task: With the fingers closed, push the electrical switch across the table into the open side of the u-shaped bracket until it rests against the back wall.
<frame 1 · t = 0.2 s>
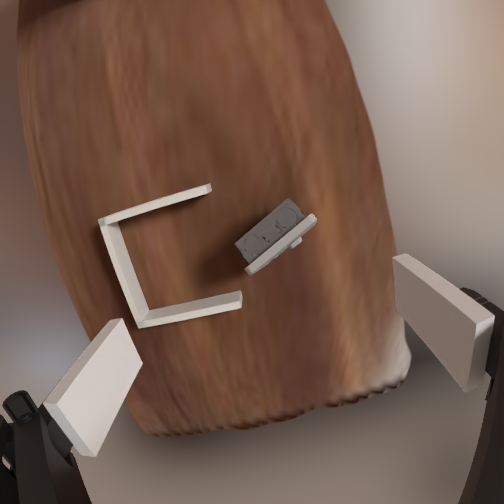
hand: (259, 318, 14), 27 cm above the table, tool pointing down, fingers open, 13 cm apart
electrical switch: (274, 229, 41), on the table
u-shaped bracket: (173, 255, 42), on the table
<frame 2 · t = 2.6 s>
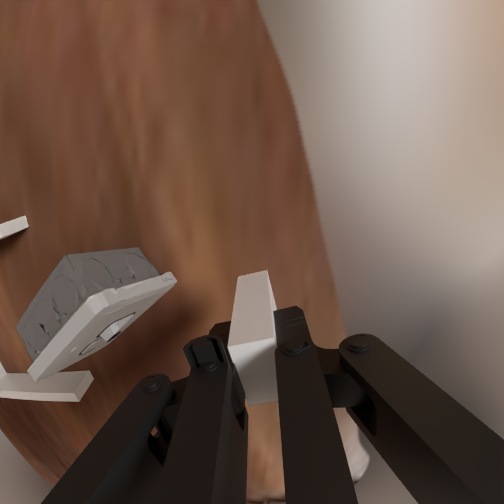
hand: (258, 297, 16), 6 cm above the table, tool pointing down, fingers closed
electrical switch: (116, 289, 23), on the table
u-shaped bracket: (8, 314, 23), on the table
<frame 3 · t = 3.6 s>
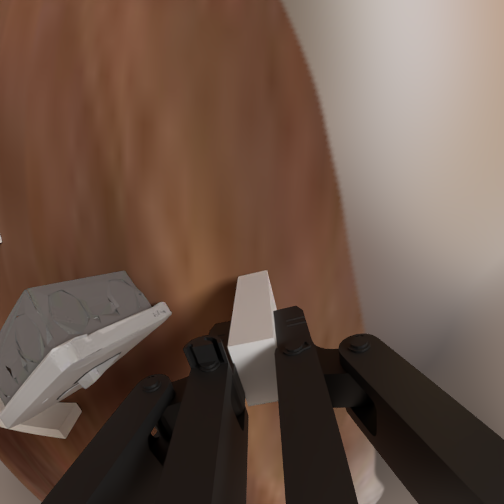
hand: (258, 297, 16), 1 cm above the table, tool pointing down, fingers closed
electrical switch: (101, 318, 19), on the table
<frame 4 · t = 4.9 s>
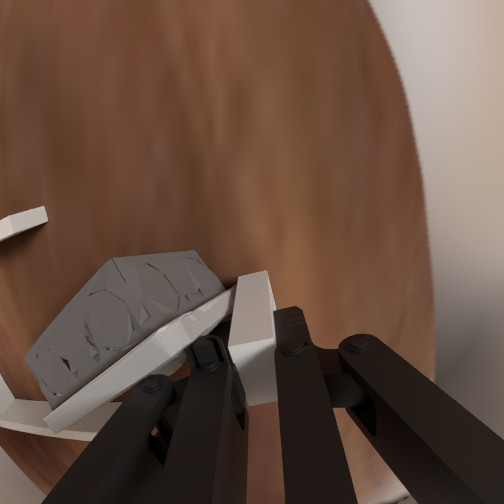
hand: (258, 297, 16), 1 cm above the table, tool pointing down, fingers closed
electrical switch: (159, 303, 18), on the table, touching gripper
u-shaped bracket: (18, 332, 19), on the table
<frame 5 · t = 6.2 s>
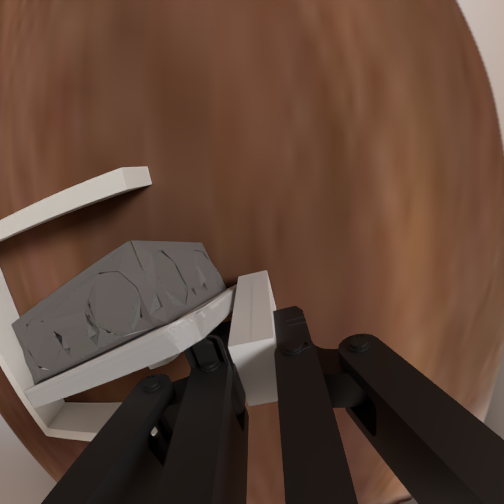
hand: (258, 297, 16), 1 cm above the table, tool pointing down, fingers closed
electrical switch: (154, 289, 18), on the table, touching gripper
u-shaped bracket: (85, 321, 18), on the table
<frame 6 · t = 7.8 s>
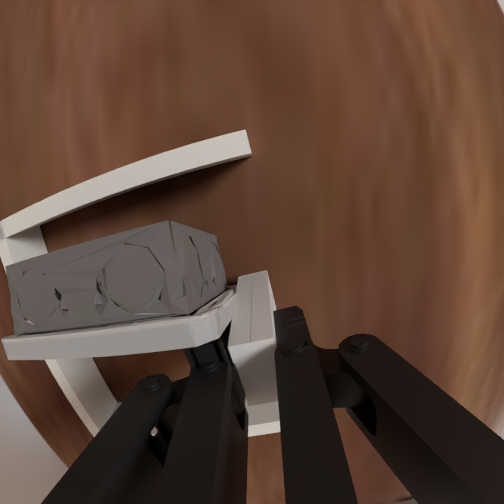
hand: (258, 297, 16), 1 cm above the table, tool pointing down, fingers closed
electrical switch: (153, 267, 17), on the table, touching gripper
u-shaped bracket: (157, 308, 18), on the table
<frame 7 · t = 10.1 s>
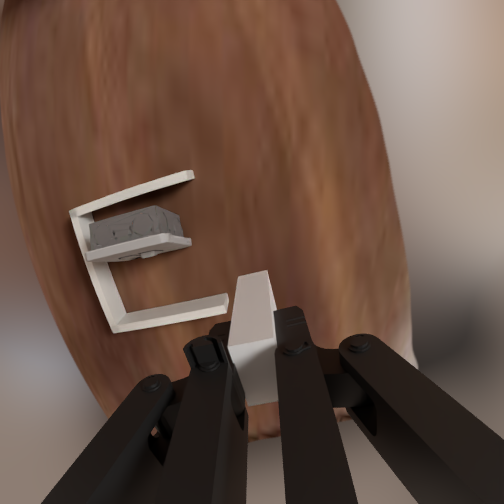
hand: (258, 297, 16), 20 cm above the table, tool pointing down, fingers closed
electrical switch: (150, 231, 36), on the table
u-shaped bracket: (152, 252, 37), on the table
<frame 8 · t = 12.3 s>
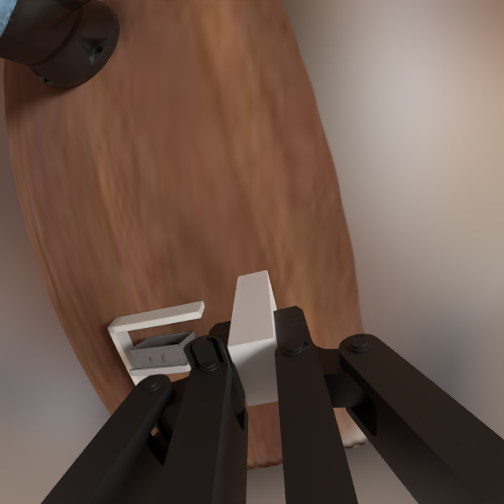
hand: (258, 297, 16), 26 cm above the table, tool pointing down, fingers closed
electrical switch: (172, 339, 47), on the table
u-shaped bracket: (173, 353, 48), on the table
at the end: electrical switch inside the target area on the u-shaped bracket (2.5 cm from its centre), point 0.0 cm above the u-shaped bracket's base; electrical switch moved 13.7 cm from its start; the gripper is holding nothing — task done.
